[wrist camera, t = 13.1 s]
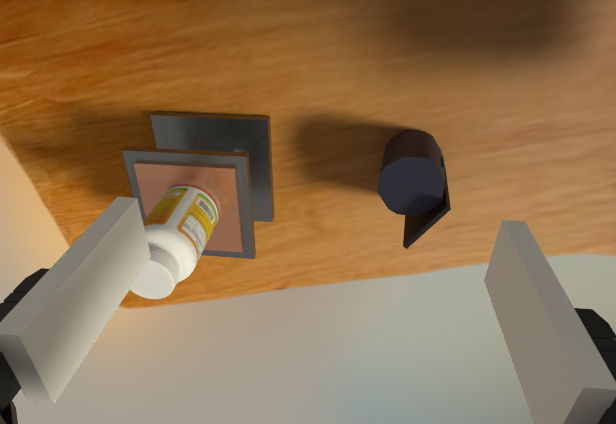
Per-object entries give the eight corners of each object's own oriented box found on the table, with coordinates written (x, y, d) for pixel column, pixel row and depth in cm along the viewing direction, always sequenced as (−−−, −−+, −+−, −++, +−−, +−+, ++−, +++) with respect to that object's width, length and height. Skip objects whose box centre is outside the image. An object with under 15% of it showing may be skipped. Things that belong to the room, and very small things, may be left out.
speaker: (458, 176, 45) (470, 227, 36) (408, 199, 48) (407, 252, 39) (425, 114, 43) (428, 152, 34) (373, 141, 45) (364, 184, 36)
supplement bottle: (157, 221, 41) (106, 292, 33) (167, 175, 38) (115, 240, 30) (211, 241, 42) (175, 315, 34) (225, 197, 39) (189, 266, 31)
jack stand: (269, 116, 44) (250, 153, 36) (274, 216, 50) (258, 265, 43) (154, 111, 45) (112, 146, 38) (173, 209, 51) (140, 257, 44)
